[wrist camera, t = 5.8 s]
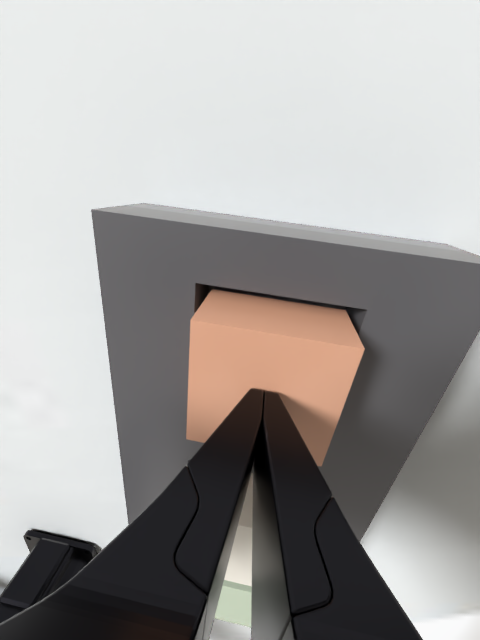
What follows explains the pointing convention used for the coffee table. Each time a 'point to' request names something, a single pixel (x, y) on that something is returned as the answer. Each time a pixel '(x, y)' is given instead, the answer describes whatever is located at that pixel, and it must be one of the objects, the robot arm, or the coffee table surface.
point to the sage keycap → (235, 603)
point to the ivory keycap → (242, 544)
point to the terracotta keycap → (271, 362)
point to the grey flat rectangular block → (290, 285)
